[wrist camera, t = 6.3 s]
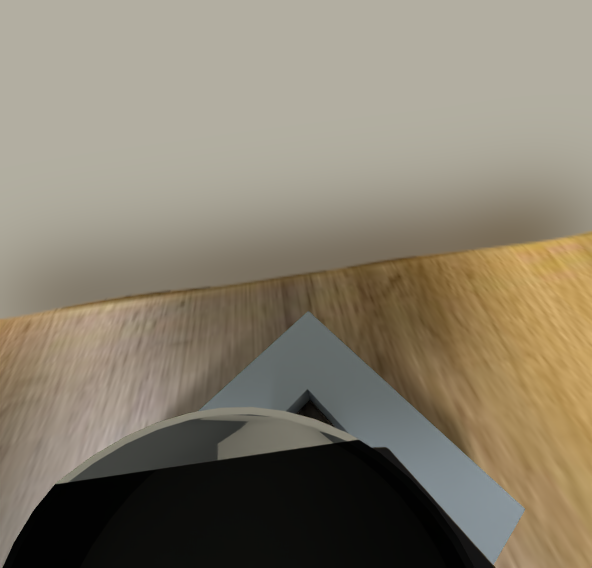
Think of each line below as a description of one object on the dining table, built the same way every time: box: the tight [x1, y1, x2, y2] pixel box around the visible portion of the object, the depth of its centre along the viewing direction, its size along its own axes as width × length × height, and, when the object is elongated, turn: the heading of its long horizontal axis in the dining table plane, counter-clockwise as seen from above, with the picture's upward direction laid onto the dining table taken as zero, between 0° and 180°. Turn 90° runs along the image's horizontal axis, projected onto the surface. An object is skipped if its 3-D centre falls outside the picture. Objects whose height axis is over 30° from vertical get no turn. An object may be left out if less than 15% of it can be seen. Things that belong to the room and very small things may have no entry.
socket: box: [199, 311, 525, 565], centre depth 12 cm, size 11×11×3 cm
